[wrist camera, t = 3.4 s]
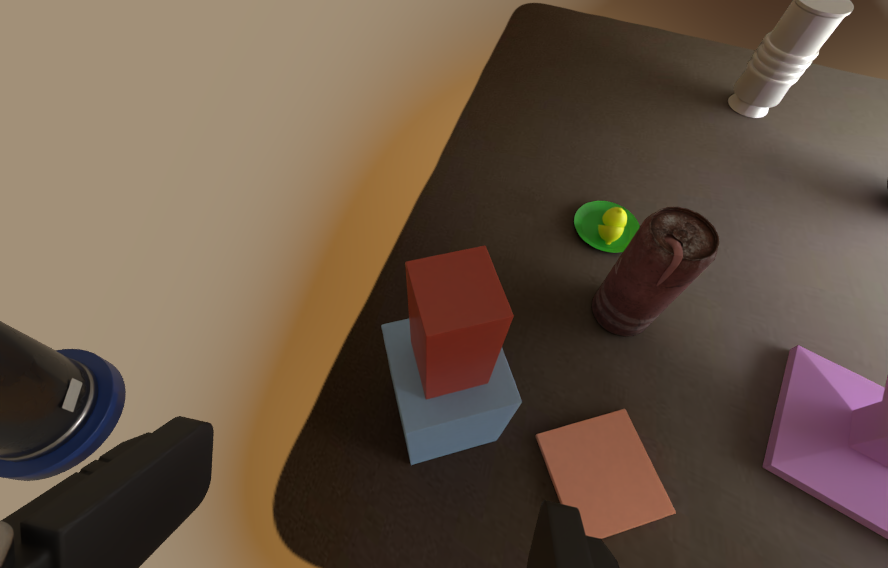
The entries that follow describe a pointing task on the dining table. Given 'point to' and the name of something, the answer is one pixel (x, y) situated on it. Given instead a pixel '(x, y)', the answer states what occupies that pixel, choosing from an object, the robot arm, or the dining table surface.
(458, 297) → the red post
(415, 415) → the blue stand
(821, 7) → the white ridged cylinder
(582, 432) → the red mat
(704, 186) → the dining table surface
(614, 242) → the green plate with lemons
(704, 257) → the brown drink cup
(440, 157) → the dining table surface
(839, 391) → the vase
